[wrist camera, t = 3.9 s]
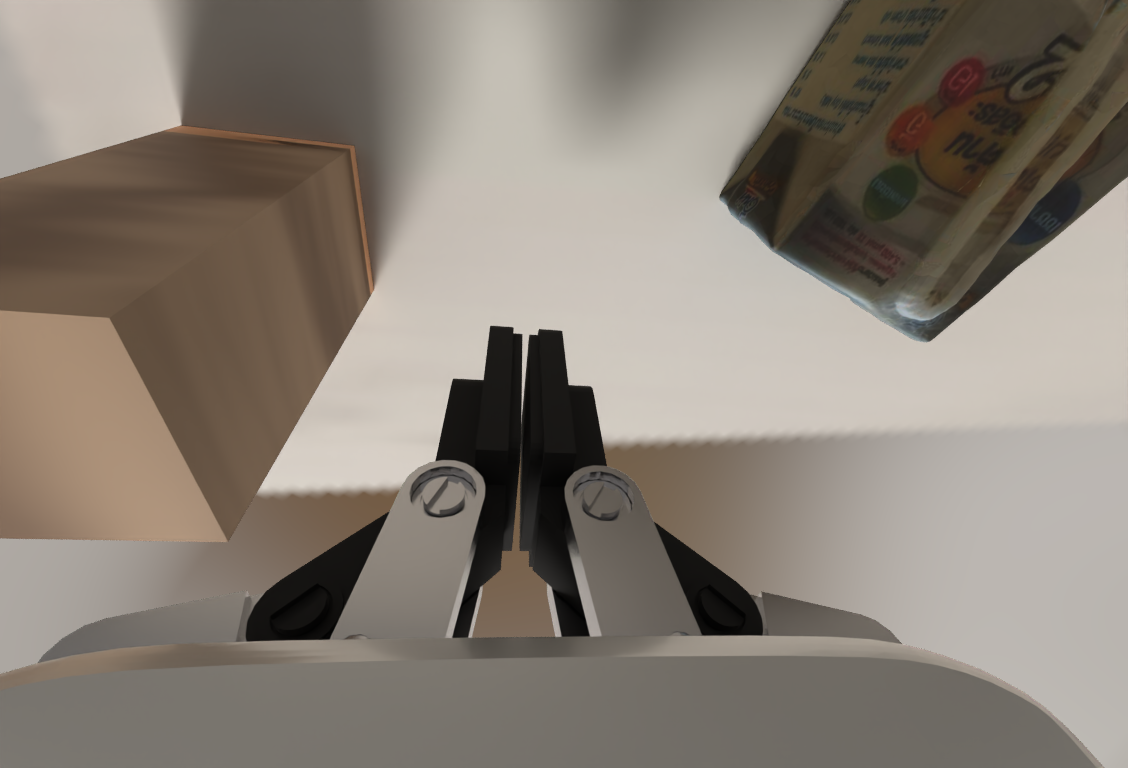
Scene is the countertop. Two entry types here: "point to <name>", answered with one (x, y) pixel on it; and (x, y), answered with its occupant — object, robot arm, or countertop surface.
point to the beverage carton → (939, 148)
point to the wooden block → (168, 327)
